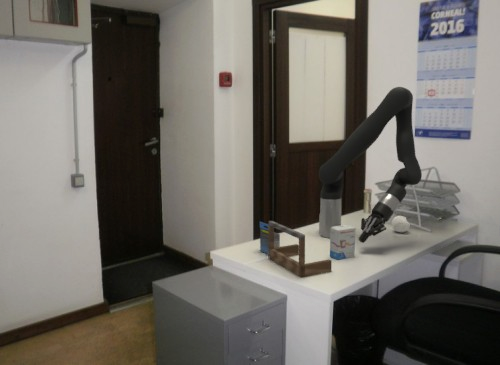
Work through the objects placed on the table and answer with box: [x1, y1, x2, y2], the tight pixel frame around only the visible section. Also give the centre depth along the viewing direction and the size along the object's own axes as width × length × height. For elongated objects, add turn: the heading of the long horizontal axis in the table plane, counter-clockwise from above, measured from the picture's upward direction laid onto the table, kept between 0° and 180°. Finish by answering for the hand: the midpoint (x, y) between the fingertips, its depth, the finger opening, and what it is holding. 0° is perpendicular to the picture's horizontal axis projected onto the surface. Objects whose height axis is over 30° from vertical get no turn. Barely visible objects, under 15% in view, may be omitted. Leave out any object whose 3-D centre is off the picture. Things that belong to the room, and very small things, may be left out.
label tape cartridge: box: [259, 221, 281, 255], centre depth 183 cm, size 9×4×12 cm, turn 33°
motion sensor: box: [391, 215, 411, 234], centre depth 210 cm, size 8×8×8 cm
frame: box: [267, 220, 333, 278], centre depth 167 cm, size 23×12×15 cm, turn 26°
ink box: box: [329, 224, 357, 261], centre depth 176 cm, size 9×5×12 cm, turn 117°
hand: (360, 241), depth 180 cm, fingers closed
